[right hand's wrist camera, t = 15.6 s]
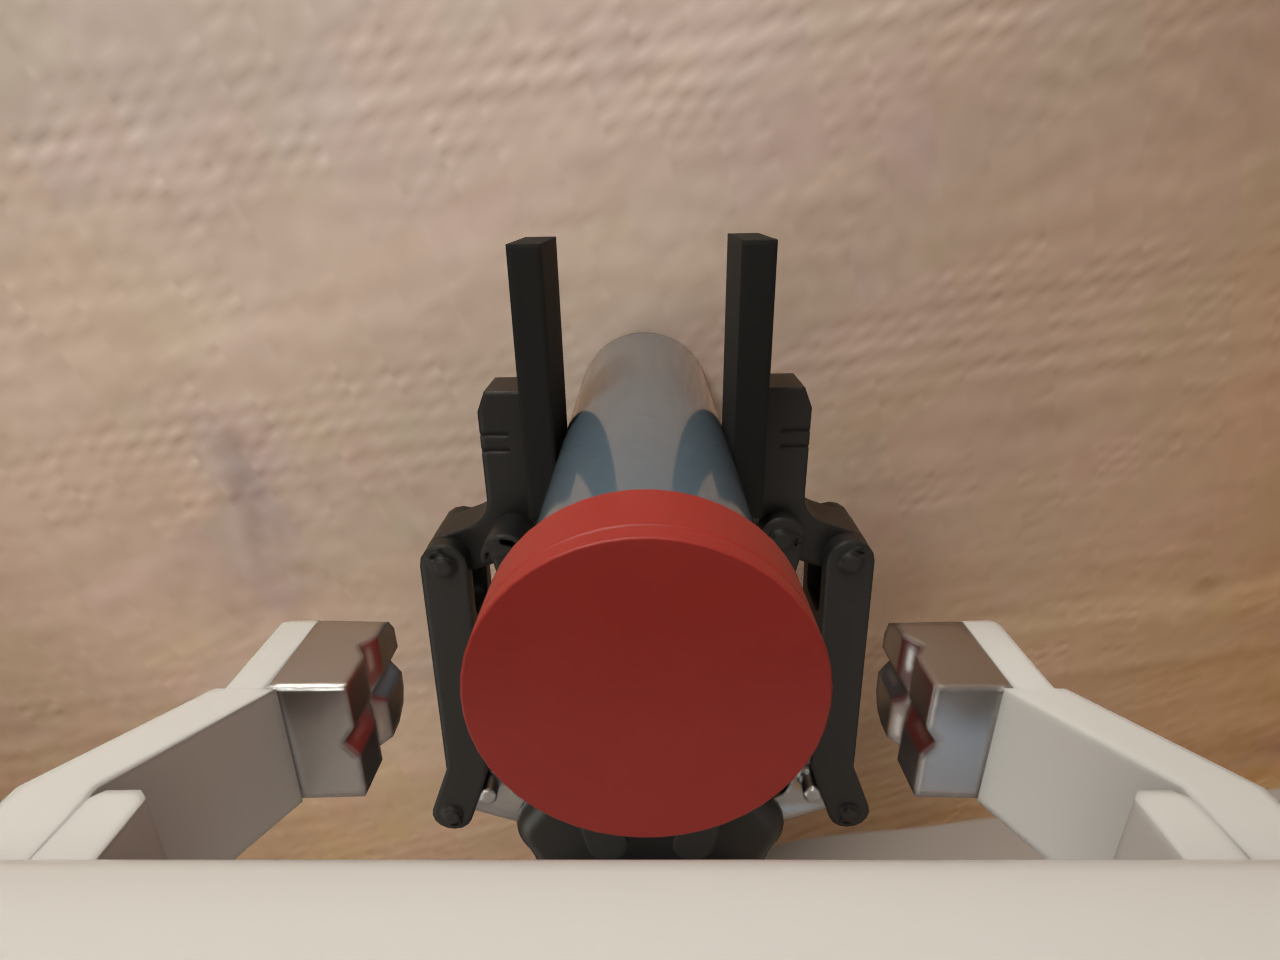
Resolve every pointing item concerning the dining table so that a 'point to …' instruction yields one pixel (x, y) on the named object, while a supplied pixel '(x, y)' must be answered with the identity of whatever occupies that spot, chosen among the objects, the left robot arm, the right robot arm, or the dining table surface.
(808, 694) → the lid
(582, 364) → the dining table surface
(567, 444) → the jar
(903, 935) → the right robot arm
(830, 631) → the left robot arm
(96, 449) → the dining table surface
